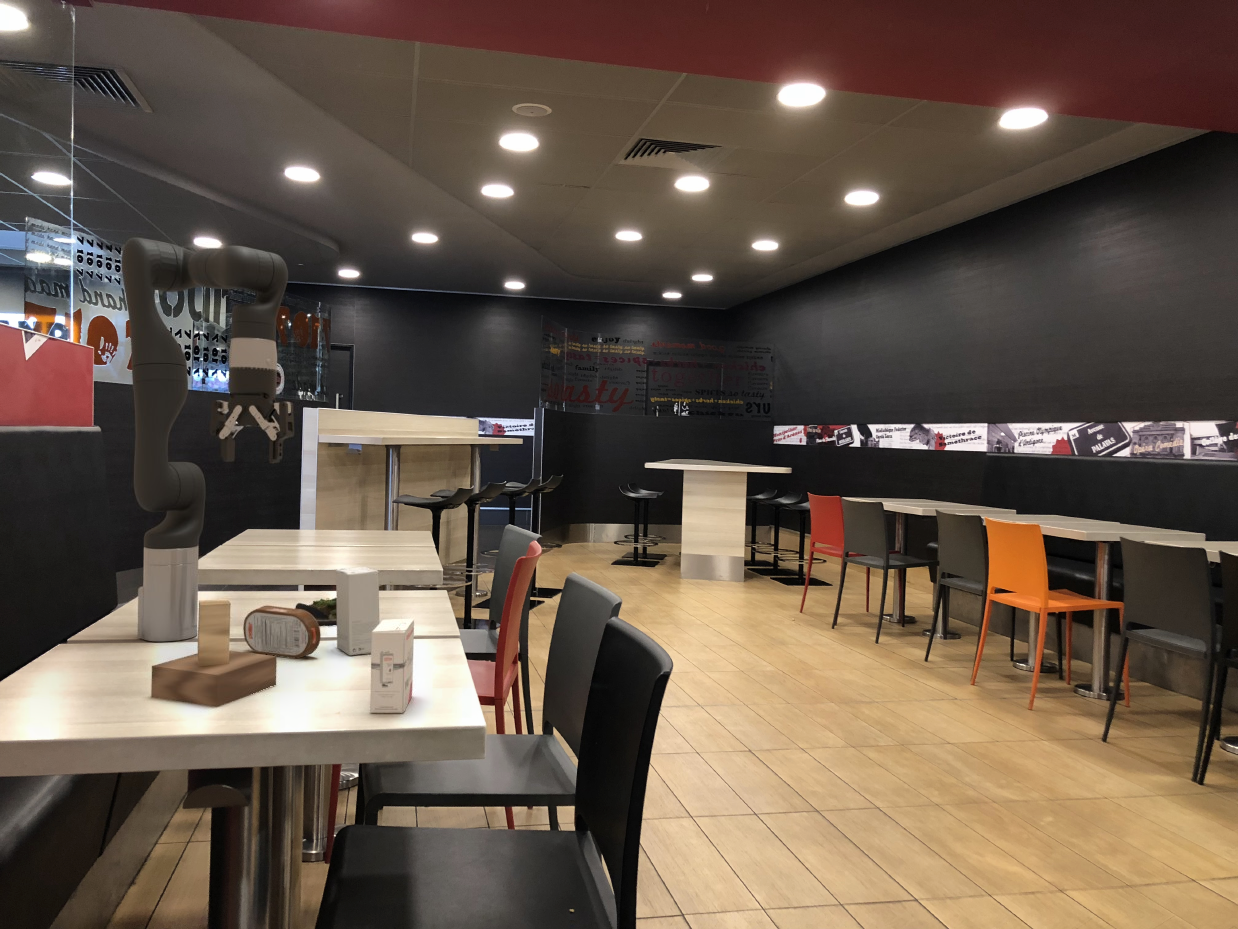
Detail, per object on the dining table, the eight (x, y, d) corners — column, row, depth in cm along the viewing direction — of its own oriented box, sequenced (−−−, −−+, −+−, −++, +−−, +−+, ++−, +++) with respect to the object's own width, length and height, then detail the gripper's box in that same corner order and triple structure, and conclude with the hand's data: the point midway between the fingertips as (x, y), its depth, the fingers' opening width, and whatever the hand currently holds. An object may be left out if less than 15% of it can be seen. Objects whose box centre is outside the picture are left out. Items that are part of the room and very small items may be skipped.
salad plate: (290, 610, 192) (290, 590, 192) (372, 609, 196) (372, 589, 195) (274, 628, 173) (274, 606, 173) (365, 627, 177) (365, 605, 177)
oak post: (197, 659, 128) (198, 600, 128) (226, 657, 130) (227, 598, 130) (199, 666, 125) (200, 605, 125) (228, 663, 127) (230, 603, 127)
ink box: (380, 696, 128) (382, 617, 128) (413, 696, 128) (415, 617, 128) (368, 714, 119) (370, 630, 119) (404, 714, 120) (406, 630, 119)
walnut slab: (151, 700, 124) (151, 665, 124) (213, 679, 136) (214, 648, 136) (217, 710, 120) (217, 675, 120) (275, 688, 132) (276, 656, 132)
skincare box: (380, 653, 154) (382, 571, 153) (346, 657, 150) (348, 573, 150) (366, 643, 161) (367, 565, 160) (333, 647, 157) (335, 566, 157)
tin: (321, 658, 150) (322, 610, 149) (309, 662, 147) (310, 613, 146) (252, 649, 154) (253, 603, 154) (239, 653, 151) (240, 605, 151)
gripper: (303, 369, 148) (301, 463, 148) (228, 368, 150) (227, 460, 150) (279, 365, 140) (277, 463, 141) (201, 364, 143) (199, 461, 143)
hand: (251, 462), depth 145 cm, fingers open, 8 cm apart
